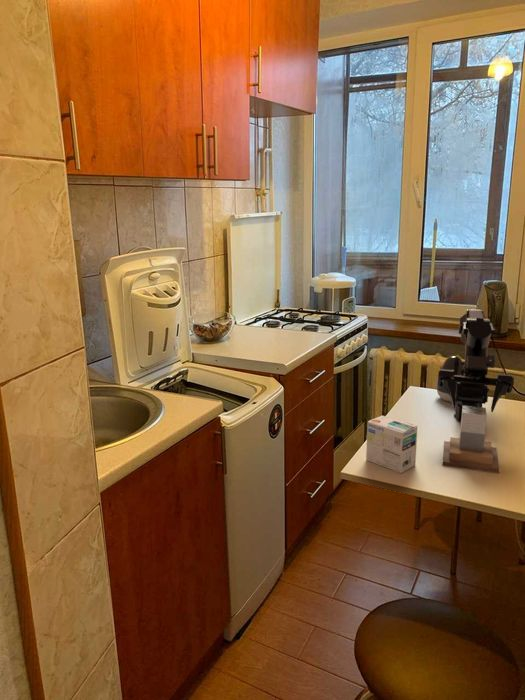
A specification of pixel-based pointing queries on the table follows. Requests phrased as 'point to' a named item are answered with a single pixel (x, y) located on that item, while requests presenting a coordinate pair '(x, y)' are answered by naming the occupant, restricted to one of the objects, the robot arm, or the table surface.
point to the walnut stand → (470, 457)
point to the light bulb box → (391, 443)
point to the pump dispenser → (457, 366)
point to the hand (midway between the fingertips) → (473, 409)
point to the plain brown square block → (472, 429)
